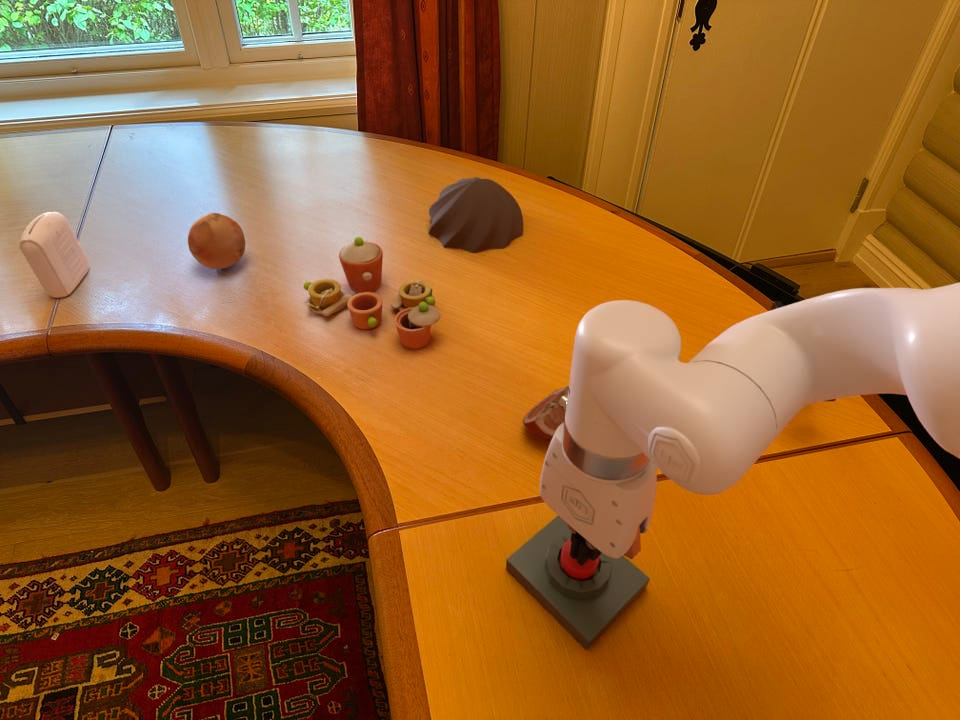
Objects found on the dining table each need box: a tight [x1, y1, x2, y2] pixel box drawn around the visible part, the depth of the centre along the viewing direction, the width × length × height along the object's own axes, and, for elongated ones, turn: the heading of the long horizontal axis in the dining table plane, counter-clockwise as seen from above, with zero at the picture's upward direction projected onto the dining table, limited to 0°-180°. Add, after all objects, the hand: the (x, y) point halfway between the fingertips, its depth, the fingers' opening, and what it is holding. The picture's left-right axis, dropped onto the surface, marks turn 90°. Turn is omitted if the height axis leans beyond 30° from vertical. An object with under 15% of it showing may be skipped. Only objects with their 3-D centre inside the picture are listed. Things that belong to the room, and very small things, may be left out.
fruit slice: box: [522, 385, 569, 440], centre depth 82 cm, size 8×7×5 cm
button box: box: [505, 515, 651, 651], centre depth 66 cm, size 12×10×4 cm
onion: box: [187, 212, 246, 270], centre depth 109 cm, size 10×10×10 cm
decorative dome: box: [427, 176, 524, 254], centre depth 119 cm, size 19×20×10 cm
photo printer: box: [18, 211, 91, 299], centre depth 104 cm, size 10×4×12 cm, turn 4°
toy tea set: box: [303, 236, 441, 350], centre depth 99 cm, size 26×16×10 cm, turn 58°
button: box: [560, 539, 600, 579], centre depth 64 cm, size 4×4×2 cm
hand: (585, 552), depth 63 cm, fingers closed
